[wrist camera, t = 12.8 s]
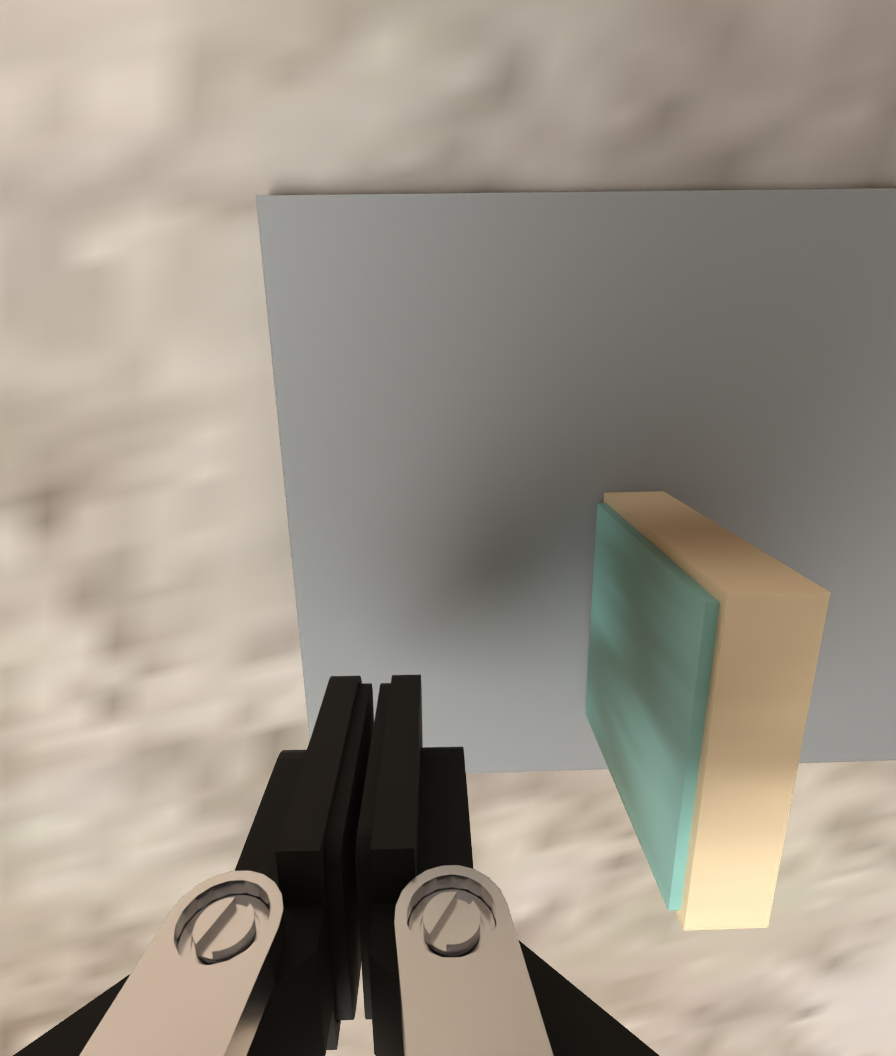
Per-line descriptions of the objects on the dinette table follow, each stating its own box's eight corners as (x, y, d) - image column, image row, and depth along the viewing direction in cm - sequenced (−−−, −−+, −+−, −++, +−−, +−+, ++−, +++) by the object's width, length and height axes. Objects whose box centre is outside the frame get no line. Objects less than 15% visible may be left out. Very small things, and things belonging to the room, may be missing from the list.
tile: (582, 714, 15) (595, 492, 14) (642, 713, 15) (663, 491, 14) (672, 931, 10) (713, 595, 8) (767, 927, 10) (831, 591, 8)
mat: (264, 202, 12) (256, 195, 12) (1010, 193, 13) (1039, 186, 12) (317, 763, 16) (313, 778, 16) (882, 745, 17) (898, 760, 16)
